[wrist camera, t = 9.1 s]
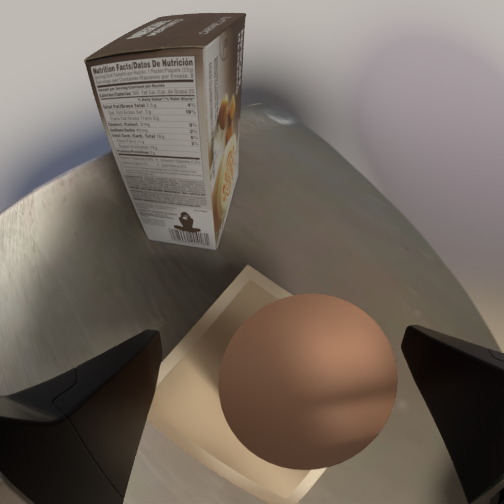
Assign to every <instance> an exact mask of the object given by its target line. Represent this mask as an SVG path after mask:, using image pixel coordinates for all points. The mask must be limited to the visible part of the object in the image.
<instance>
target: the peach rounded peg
mask: <svg viewBox="0 0 504 504" xmlns="http://www.w3.org/2000/svg"><path fill="white" fill-rule="evenodd" d="M218 386H219V398H220V403H221V408H222V411H223V414H224V417H225V419H226V421H227V423H228V425H229V427H230V429H231V431H232V432H233V433H234V435H235V436H236V437H237V439H238V440H239V441H240V442H241V443H242V444H243V445H244V446H245V447H246V448H247V449H248V450H249V451H250V452H252V453H253V454H255V455H256V456H257V457H259V458H261V459H263V460H265V461H267V462H268V463H271V464H274V465H277V466H279V467H283V468H288V469H293V470H315V469H322V468H326V467H331V466H333V465H336V464H339V463H342V462H344V461H346V460H348V459H350V458H351V457H353V456H355V455H356V454H358V453H359V452H360V451H362V450H363V449H364V448H365V447H367V446H368V445H369V444H370V443H371V442H372V441H373V440H374V439H375V437H376V436H377V435H378V434H379V433H380V431H381V430H382V428H383V427H384V425H385V424H386V422H387V420H388V418H389V416H390V414H391V411H392V408H393V405H394V402H395V397H396V392H397V367H396V361H395V357H394V354H393V350H392V348H391V346H390V343H389V341H388V339H387V337H386V336H385V334H384V332H383V331H382V330H381V328H380V327H379V326H378V324H377V323H376V322H375V321H374V320H373V319H372V318H371V317H370V316H369V315H368V314H366V313H365V312H364V311H363V310H361V309H360V308H358V307H356V306H355V305H353V304H351V303H349V302H347V301H345V300H342V299H339V298H336V297H333V296H328V295H322V294H299V295H294V296H289V297H285V298H282V299H279V300H277V301H274V302H272V303H270V304H268V305H266V306H264V307H263V308H261V309H260V310H258V311H257V312H255V313H254V314H253V315H252V316H251V317H249V318H248V319H247V320H246V321H245V322H244V323H243V324H242V325H241V326H240V327H239V329H238V330H237V332H236V333H235V334H234V336H233V337H232V339H231V341H230V343H229V344H228V346H227V348H226V351H225V354H224V356H223V359H222V363H221V367H220V371H219V383H218Z"/></svg>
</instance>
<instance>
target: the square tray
mask: <svg viewBox="0 0 504 504" xmlns="http://www.w3.org/2000/svg"><path fill="white" fill-rule="evenodd" d="M289 296H293V295H291V294H290V293H288V292H287V291H286V290H284V289H283V288H281V287H280V286H278V285H277V284H275V283H274V282H272V281H271V280H269V279H268V278H267V277H265V276H264V275H262V274H261V273H259V272H258V271H256V270H255V269H254V268H252V267H251V266H249V265H247V266H246V267H245V268H244V269H243V270H242V272H241V273H240V274H239V275H238V276H237V277H236V278H235V280H234V281H233V282H232V283H231V284H230V285H229V286H228V288H227V289H226V290H225V291H224V292H223V293H222V294H221V296H220V297H219V298H218V299H217V300H216V301H215V302H214V304H213V305H212V306H211V307H210V308H209V309H208V310H207V312H206V313H205V314H204V315H203V316H202V317H201V318H200V320H199V321H198V322H197V323H196V324H195V325H194V326H193V327H192V329H191V330H190V331H189V332H188V333H187V334H186V335H185V337H184V338H183V339H182V340H181V341H180V342H179V343H178V345H177V346H176V347H175V348H174V349H173V350H172V351H171V352H170V354H169V355H168V356H167V357H166V358H165V359H164V360H163V362H162V363H161V365H160V370H159V375H158V380H157V385H156V390H155V394H154V398H153V401H152V404H151V407H150V410H149V413H148V417H147V419H148V420H149V421H150V422H151V423H152V424H153V425H154V426H155V427H157V428H158V429H159V430H160V431H161V432H162V433H164V434H165V435H166V436H167V437H168V438H170V439H171V440H172V441H173V442H175V443H176V444H177V445H178V446H180V447H181V448H182V449H184V450H185V451H186V452H187V453H189V454H190V455H192V456H193V457H194V458H196V459H197V460H198V461H200V462H201V463H203V464H204V465H206V466H207V467H208V468H210V469H211V470H213V471H214V472H216V473H217V474H219V475H221V476H222V477H224V478H225V479H227V480H229V481H230V482H232V483H233V484H235V485H237V486H238V487H240V488H242V489H244V490H245V491H247V492H249V493H251V494H253V495H254V496H256V497H258V498H260V499H262V500H264V501H266V502H268V503H270V504H297V503H298V502H299V500H300V499H301V498H302V497H303V496H304V495H305V494H306V493H307V491H308V490H309V489H310V488H311V487H312V485H313V484H314V483H315V482H316V481H317V479H318V478H319V477H320V476H321V474H322V473H323V472H324V471H325V469H326V468H327V467H326V468H322V469H315V470H293V469H288V468H283V467H279V466H277V465H274V464H271V463H268V462H267V461H265V460H263V459H261V458H259V457H257V456H256V455H255V454H253V453H252V452H250V451H249V450H248V449H247V448H246V447H245V446H244V445H243V444H242V443H241V442H240V441H239V440H238V439H237V437H236V436H235V435H234V433H233V432H232V431H231V429H230V427H229V425H228V423H227V421H226V419H225V417H224V414H223V411H222V408H221V403H220V398H219V386H218V383H219V371H220V367H221V363H222V359H223V356H224V354H225V351H226V348H227V346H228V344H229V343H230V341H231V339H232V337H233V336H234V334H235V333H236V332H237V330H238V329H239V327H240V326H241V325H242V324H243V323H244V322H245V321H246V320H247V319H248V318H249V317H251V316H252V315H253V314H254V313H255V312H257V311H258V310H260V309H261V308H263V307H264V306H266V305H268V304H270V303H272V302H274V301H277V300H279V299H282V298H285V297H289Z"/></svg>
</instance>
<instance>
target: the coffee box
mask: <svg viewBox="0 0 504 504" xmlns="http://www.w3.org/2000/svg"><path fill="white" fill-rule="evenodd" d="M245 17H246V14H245V13H199V14H184V15H172V16H165V17H159V18H157V19H155V20H153V21H150V22H148V23H146V24H144V25H142V26H140V27H138V28H136V29H134V30H132V31H131V32H128V33H127V34H125V35H123V36H121V37H120V38H118V39H116V40H114V41H113V42H111V43H109V44H108V45H106V46H104V47H103V48H101V49H100V50H98V51H97V52H95V53H94V54H92V55H90V56H89V57H88V58H86V59H85V60H84V61H85V64H86V67H87V71H88V75H89V79H90V82H91V86H92V90H93V94H94V97H95V100H96V103H97V107H98V110H99V113H100V117H101V120H102V123H103V126H104V129H105V132H106V134H107V138H108V141H109V143H110V146H111V149H112V152H113V155H114V158H115V160H116V163H117V166H118V168H119V171H120V173H121V176H122V178H123V181H124V183H125V186H126V188H127V191H128V194H129V196H130V198H131V201H132V203H133V205H134V208H135V210H136V212H137V215H138V217H139V220H140V222H141V224H142V226H143V229H144V231H145V233H146V235H147V238H148V239H150V240H153V241H160V242H166V243H173V244H179V245H186V246H192V247H199V248H205V249H212V250H216V249H217V248H218V246H219V242H220V239H221V235H222V232H223V228H224V224H225V221H226V217H227V213H228V210H229V206H230V202H231V199H232V195H233V191H234V188H235V184H236V181H237V177H238V161H239V133H240V108H241V83H242V64H243V44H244V28H245Z"/></svg>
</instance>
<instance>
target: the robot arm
mask: <svg viewBox="0 0 504 504" xmlns="http://www.w3.org/2000/svg"><path fill="white" fill-rule="evenodd" d="M401 349H402V352H403V355H404V357H405V359H406V362H407V364H408V367H409V369H410V372H411V374H412V376H413V379H414V381H415V383H416V385H417V387H418V389H419V391H420V393H421V395H422V397H423V398H424V400H425V402H426V405H427V407H428V409H429V411H430V413H431V415H432V417H433V419H434V421H435V423H436V425H437V427H438V430H439V432H440V434H441V436H442V438H443V441H444V443H445V445H446V448H447V450H448V452H449V455H450V457H451V459H452V461H453V465H454V467H455V470H456V472H457V475H458V478H459V480H460V483H461V486H462V488H463V491H464V494H465V497H466V500H467V502H468V504H471V503H472V502H474V501H475V500H476V499H478V498H479V497H481V496H482V495H483V494H485V493H486V492H487V491H489V490H490V489H491V488H493V487H494V486H495V485H496V484H498V483H499V482H500V481H501V480H503V479H504V353H501V352H498V351H494V350H491V349H487V348H485V347H482V346H479V345H476V344H473V343H470V342H467V341H464V340H461V339H458V338H455V337H452V336H449V335H446V334H443V333H440V332H437V331H434V330H431V329H428V328H425V327H422V326H419V325H410V326H408V327H407V328H406V331H405V334H404V337H403V341H402V344H401ZM161 360H162V346H161V339H160V333H159V331H157V330H149V329H148V330H145V331H143V332H141V333H139V334H138V335H136V336H134V337H132V338H130V339H128V340H126V341H124V342H123V343H121V344H119V345H117V346H115V347H113V348H111V349H109V350H107V351H106V352H104V353H102V354H100V355H98V356H96V357H94V358H92V359H90V360H88V361H86V362H85V363H83V364H81V365H79V366H77V367H76V368H73V369H71V370H69V371H67V372H65V373H63V374H61V375H59V376H57V377H55V378H52V379H50V380H48V381H45V382H43V383H40V384H38V385H35V386H33V387H30V388H27V389H25V390H22V391H20V392H17V393H14V394H11V395H7V396H0V504H123V501H124V497H125V493H126V489H127V485H128V481H129V478H130V474H131V470H132V467H133V463H134V460H135V456H136V453H137V449H138V446H139V443H140V439H141V436H142V433H143V429H144V426H145V423H146V420H147V417H148V413H149V410H150V407H151V404H152V401H153V398H154V394H155V390H156V385H157V380H158V375H159V370H160V365H161ZM490 504H504V488H503V489H502V490H500V491H499V492H498V493H497V494H496V495H495V496H494V497H492V498H491V501H490Z"/></svg>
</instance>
